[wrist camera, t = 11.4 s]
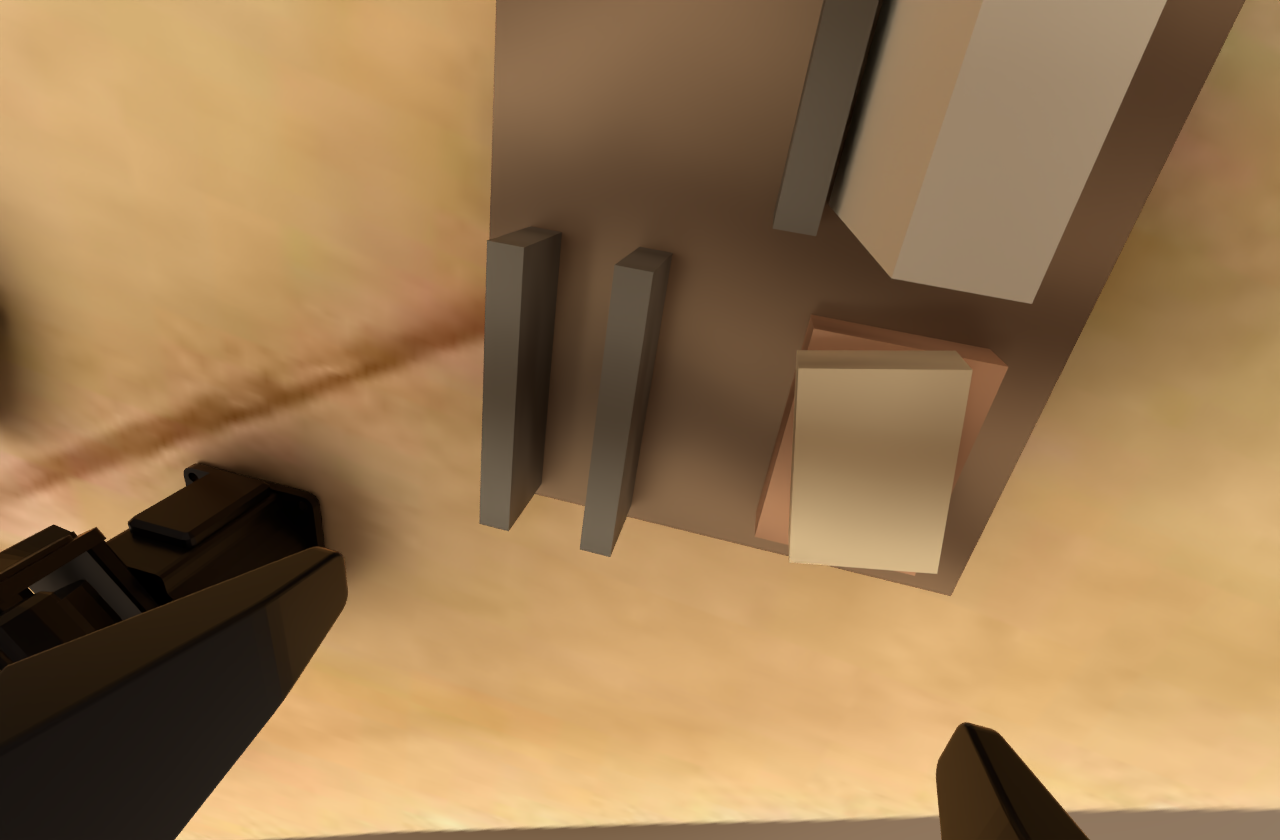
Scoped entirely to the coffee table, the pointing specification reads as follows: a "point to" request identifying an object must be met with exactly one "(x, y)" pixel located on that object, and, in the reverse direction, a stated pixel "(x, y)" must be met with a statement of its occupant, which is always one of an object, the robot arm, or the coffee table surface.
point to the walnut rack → (740, 255)
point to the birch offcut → (874, 456)
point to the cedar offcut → (863, 337)
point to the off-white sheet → (983, 133)
